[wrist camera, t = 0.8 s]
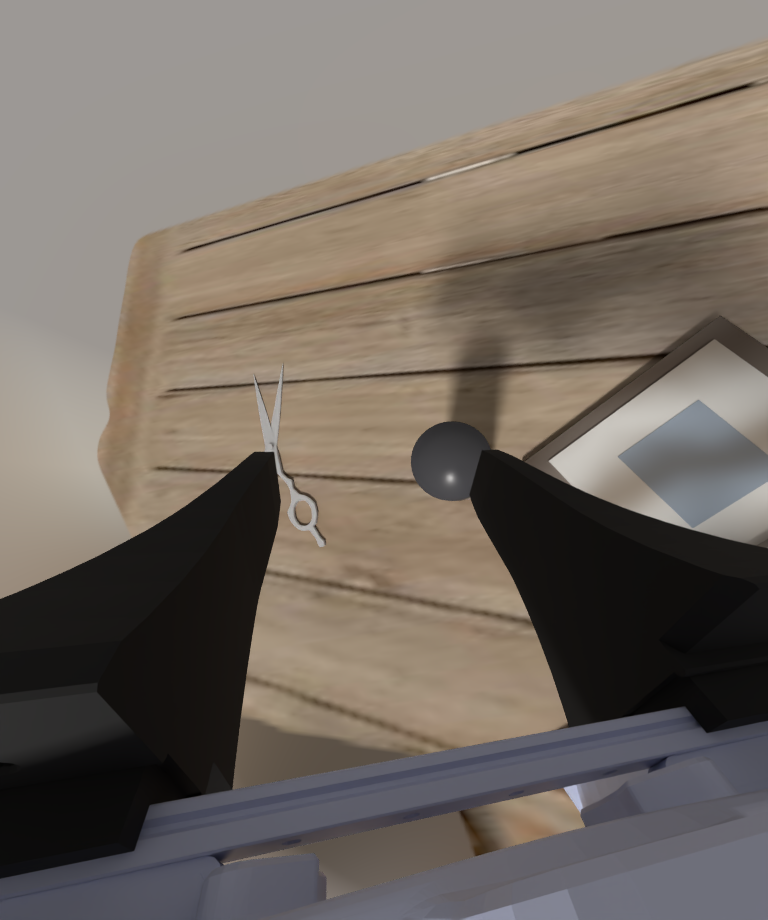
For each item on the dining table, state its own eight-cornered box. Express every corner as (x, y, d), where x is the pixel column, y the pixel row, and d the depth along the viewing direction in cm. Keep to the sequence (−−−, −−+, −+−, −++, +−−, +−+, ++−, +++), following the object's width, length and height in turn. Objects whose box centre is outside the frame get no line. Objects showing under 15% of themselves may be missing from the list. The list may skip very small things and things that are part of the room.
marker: (502, 480, 24) (510, 466, 15) (460, 511, 25) (443, 517, 16) (468, 440, 25) (456, 405, 16) (429, 471, 26) (396, 455, 17)
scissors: (236, 555, 32) (228, 378, 35) (241, 554, 32) (233, 380, 36) (324, 546, 28) (306, 352, 32) (328, 545, 29) (310, 355, 32)
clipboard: (940, 478, 17) (982, 476, 15) (673, 630, 20) (687, 640, 18) (714, 320, 21) (730, 307, 20) (521, 464, 24) (523, 461, 22)
